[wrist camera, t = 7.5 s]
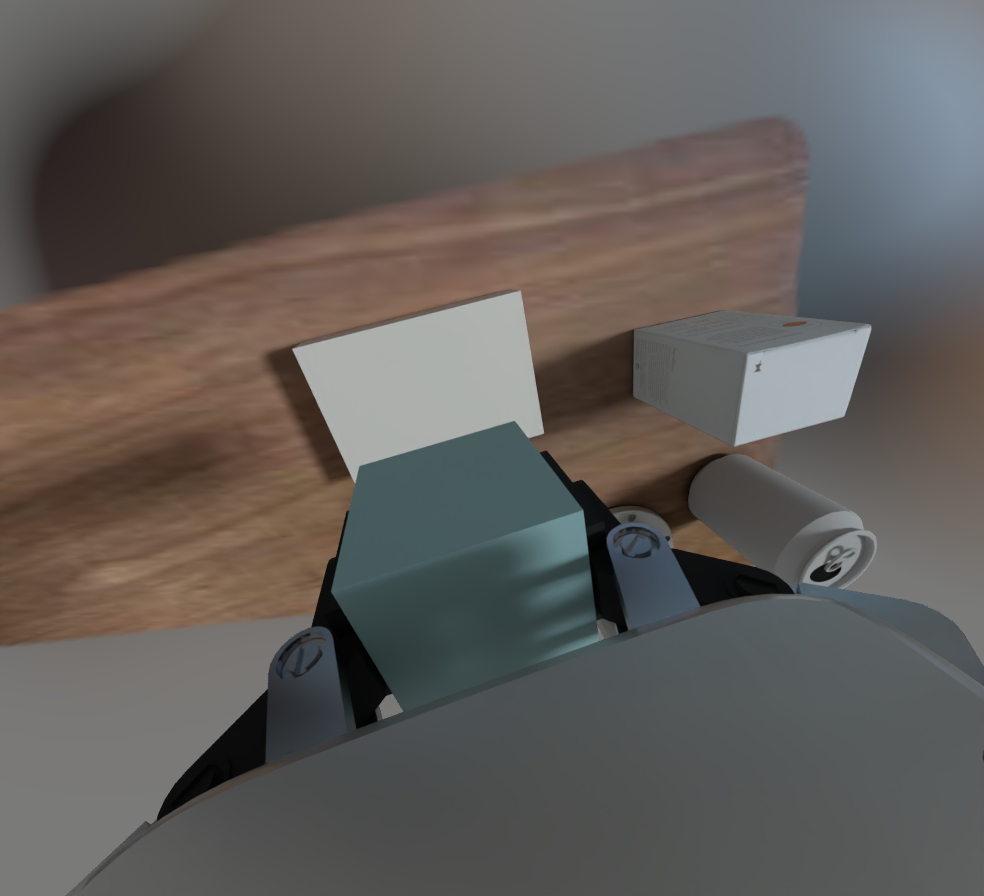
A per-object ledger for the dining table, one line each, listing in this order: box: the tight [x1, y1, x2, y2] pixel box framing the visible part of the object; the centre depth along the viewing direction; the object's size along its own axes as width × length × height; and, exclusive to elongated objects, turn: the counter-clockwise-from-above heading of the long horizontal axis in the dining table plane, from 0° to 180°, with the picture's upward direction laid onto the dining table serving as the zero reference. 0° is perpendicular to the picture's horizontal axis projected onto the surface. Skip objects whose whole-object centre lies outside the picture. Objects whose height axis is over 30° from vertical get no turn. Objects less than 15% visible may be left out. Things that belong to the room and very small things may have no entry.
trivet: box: [292, 289, 544, 483], centre depth 25 cm, size 14×10×2 cm
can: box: [688, 454, 877, 589], centre depth 31 cm, size 8×8×12 cm
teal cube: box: [331, 421, 599, 712], centre depth 10 cm, size 5×5×5 cm
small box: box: [633, 310, 871, 447], centre depth 25 cm, size 8×6×10 cm
